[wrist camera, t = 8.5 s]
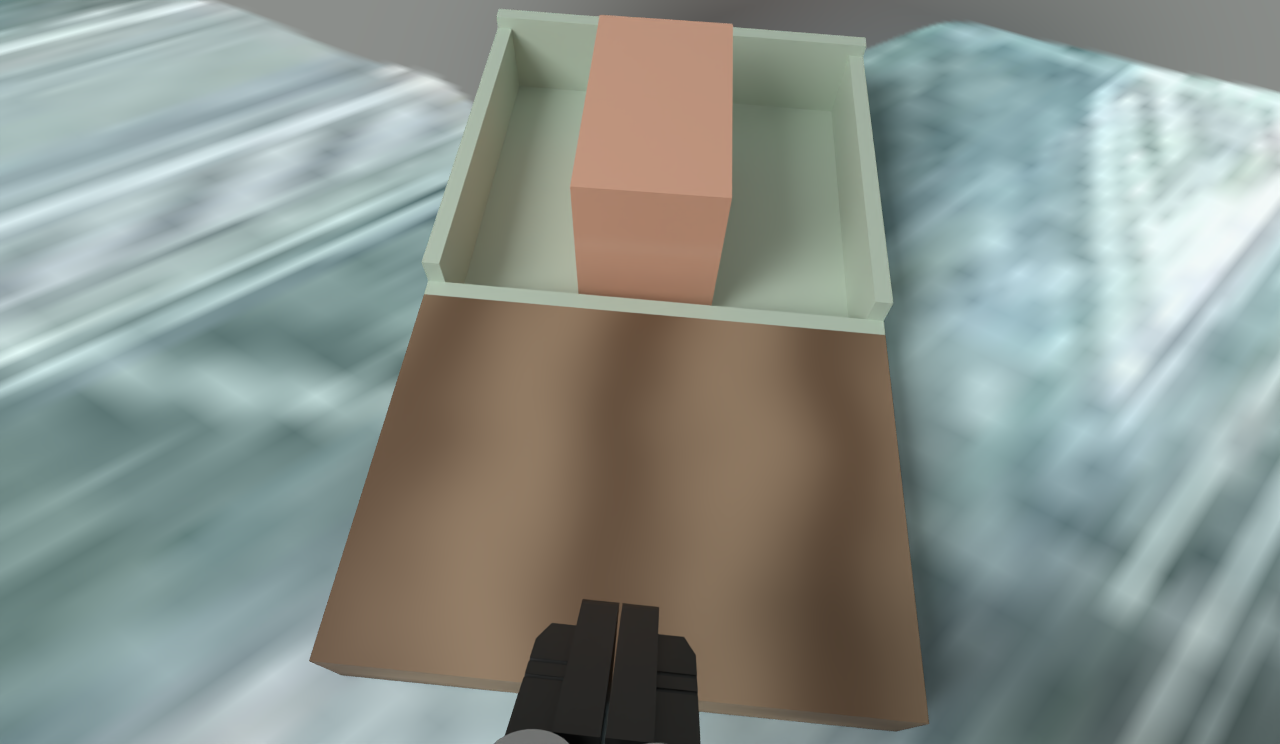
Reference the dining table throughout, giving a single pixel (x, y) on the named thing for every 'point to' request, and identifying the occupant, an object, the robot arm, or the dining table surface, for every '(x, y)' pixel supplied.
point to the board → (637, 508)
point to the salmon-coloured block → (654, 160)
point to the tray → (761, 182)
